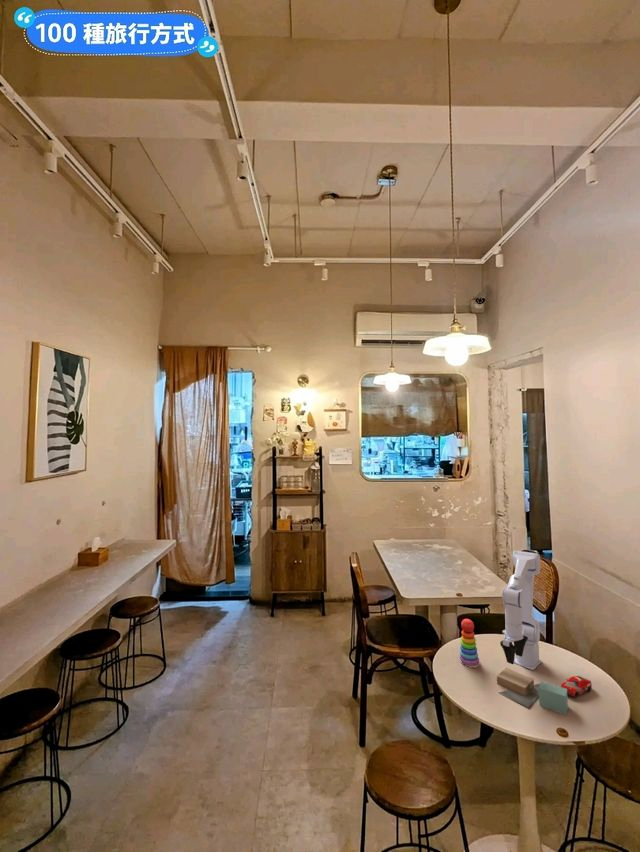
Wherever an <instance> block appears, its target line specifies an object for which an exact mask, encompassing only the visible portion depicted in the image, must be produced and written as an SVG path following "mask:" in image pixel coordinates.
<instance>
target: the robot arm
mask: <svg viewBox="0 0 640 852" xmlns="http://www.w3.org/2000/svg"><path fill="white" fill-rule="evenodd" d="M511 559H512V563H513V566H514V573H513V574H512V575H510V577H509V580H508V584H507V587H506V588H503V589H502V593H501V595H502V596H501V597H502V604H503V609H504V614H505V615H504V620H505V621H504V623H505V625H504V626H505V629H503V630H502V634H504V636H503V639H502V640H501V641H500V642H499V644H500V646H501V648H502V649H503V652H504V655H505V659H506V662H507V663H508V664H511V665H514V664H516V665H519V666H521V667H523V668H526V669H529V670H532V671H533V670H535V669H536V668H537V667H538V666H539V665H540V664H541V663H542V662H543V661H542V660H541V659H540V647H539V643H540V640H541V631H540V630H541V629H540V628H541V627H540V625H541V624H540V623H539V622H538V620H536V619H535V618H534V616H533V608H534V607H533V606H534V604H533V603H534V587H535V586H534V584H535V577H536V576H537V575H540V572H541V556H540V554H539V553H538V552H537V553H536V552H535V553H534V552H529V551H523V550H522V551H521V550H517V549H515V550H513V551H512V558H511ZM515 655H516V657H515Z"/></svg>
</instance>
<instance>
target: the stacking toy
mask: <svg viewBox="0 0 640 852" xmlns="http://www.w3.org/2000/svg"><path fill="white" fill-rule="evenodd" d="M460 625H461V626H460V627H461V629H462V630H461V632H460V633H461V640H460V646H459V648H460V649H459V661H460V660H461V661H462V663H463V664H465V665H466V666H465V665H464V666H465V667H467V666H469V667H468V668H472V667H474V668H477V666H478V667H479V666H480V657H479V654H478V648H477V642H476V641H477V640H476V638H475V637H476V636H475V632H474V629H475V624H474V622H473V621H472V620H471V619H469V618H464V619H462V621H461V624H460ZM461 661H460V662H461ZM462 663H461V664H462ZM463 664H462V665H463Z"/></svg>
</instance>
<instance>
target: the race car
mask: <svg viewBox="0 0 640 852" xmlns="http://www.w3.org/2000/svg"><path fill="white" fill-rule="evenodd" d="M592 685H593V684H592V681H591V680H590V679H588V678H586V677H584V676H581V675H574V676H571V677H570V678H566V681H563V682H562V683H561V685H560V687H562V688H565V689H567V695H569V696H571V697H575V698H577V697H578V696H580V695H582V694H585V693H587V692H588V693H590V692H591V690H592V688H593V687H592Z"/></svg>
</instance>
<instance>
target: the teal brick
mask: <svg viewBox="0 0 640 852" xmlns="http://www.w3.org/2000/svg"><path fill="white" fill-rule="evenodd" d="M539 684H540V686H539V697H538V702H539V703H538V705H539V706H540V707H543V708H546V709H548V710H552V711H555V712H557V713H560V714H564V715H567V713H568V705H569V704H568V703H569V701H568V694H567V689H565V688H562V687H561V686H558V685H555V684H552V683H549V682H546V681H542V680H540V683H539Z"/></svg>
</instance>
